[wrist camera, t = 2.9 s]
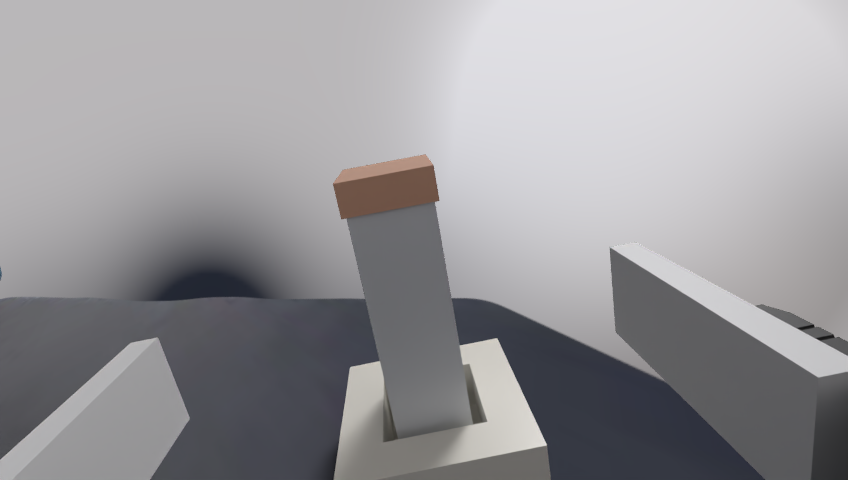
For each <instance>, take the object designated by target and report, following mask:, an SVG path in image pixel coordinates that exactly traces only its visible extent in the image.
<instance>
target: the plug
mask: <svg viewBox="0 0 848 480" xmlns="http://www.w3.org/2000/svg"><path fill="white" fill-rule="evenodd" d="M333 186H334V190H335V194H336V198H337V203H338V207H339V211H340V215H341V219H346V218H347V222H348V227H349V231H350V235H351V240H352V244H353V248H354V252H355V256H356V261H357V265H358V269H359V274H360V278H361V282H362V286H363V291H364V295H365V299H366V304H367V308H368V312H369V317H370V321H371V325H372V329H373V334H374V338H375V342H376V346H377V351H378V355H379V359H380V364H381V368H382V372H383V376H384V381H385V385H386V389H387V393H388V398H389V402H390V406H391V411H392V415H393V419H394V423H395V428H396V432H397V436H398V439H403V438H408V437H413V436H418V435H423V434H428V433H433V432H438V431H443V430H448V429H453V428H458V427H463V426H468V425H473V421H472V415H471V409H470V404H469V398H468V392H467V386H466V380H465V375H464V369H463V363H462V357H461V351H460V346H459V340H458V334H457V328H456V322H455V317H454V311H453V305H452V299H451V294H450V288H449V282H448V276H447V271H446V264H445V259H444V253H443V248H442V241H441V235H440V229H439V224H438V218H437V212H436V206H435V202H436V201H439V196H438V189H437V184H436V178H435V172H434V166H433V164H432V163H431V161H430V160H429V159H428V157H427V156H426V155H420V156H415V157H410V158H404V159H399V160H393V161H388V162H383V163H377V164H372V165H366V166H362V167H356V168H351V169H345V170H343V171H342V172H341V173H340V175H339V176H338V178H337V179H336V180H335V182H334V183H333Z"/></svg>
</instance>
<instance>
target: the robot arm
mask: <svg viewBox="0 0 848 480" xmlns="http://www.w3.org/2000/svg"><path fill="white" fill-rule="evenodd" d="M610 258H611V272H612V286H613V301H614V315H615V327H616V333H617V334H618V335H619V336H620V337H621V338H622V339H623V340H624V341H625V342H626V343H628V344H629V346H630V347H632V348H633V349H634V350H635V351H636V352H637V353H638V354H639V355H640V356H641V357H642V358H643V359H644V360H645V361H646V362H647V363H648V364H649V365H650V366H651V367H652V368H653V369H654V370H655V371H656V372H657V373H658V374H659V375H660V376H661V377H662V378H663V379H664V380H665V381H666V382H667V383H668V384H669V385H670V386H671V387H672V388H673V389H674V390H675V391H676V392H677V393H678V394H679V395H680V396H681V397H682V398H683V399H684V400H685V401H686V402H687V403H688V404H689V405H690V406H691V407H692V408H693V409H694V410H695V411H696V412H697V413H699V414H700V415H701V416H702V417H703V418H704V419H705V420H706V421H707V422H708V423H709V424H710V425H711V426H712V427H713V428H714V429H715V430H716V431H717V432H718V433H719V434H720V435H721V436H722V437H723V438H724V439H725V440H726V441H727V442H728V443H729V444H730V445H731V446H732V447H733V448H734V449H735V450H736V451H737V452H738V453H739V454H740V455H741V456H742V457H743V458H744V459H745V460H746V461H747V462H748V463H749V464H750V465H751V466H752V467H753V468H754V469H755V470H756V471H757V472H758V473H759V474H760V475H761V476H762V477H763V478H765V479H766V480H848V342H847V341H845V340H843V339H841V338H839V337H837V338H835V337H834V335H833V334H831V333H830V332H828V331H826V330H824V329H821V328H819V327H814V324H812V323H810V322H808V321H806V320H804V319H802V318H800V317H798V316H796V315H794V314H792V313H790V312H786V311H783V310H779V309H775V308H772V307H769V306H765V305H757V306H754V305H752V304H750V303H748V302H746V301H745V300H743V299H741V298H739V297H737V296H735V295H733V294H731V293H729V292H728V291H726V290H724V289H722V288H720V287H718V286H717V285H715V284H713V283H711V282H709V281H707V280H705V279H703V278H702V277H700V276H698V275H696V274H694V273H692V272H691V271H689V270H687V269H685V268H683V267H681V266H679V265H678V264H676V263H674V262H672V261H670V260H668V259H666V258H664V257H663V256H661V255H659V254H657V253H655V252H653V251H651V250H650V249H648V248H646V247H644V246H642V245H640V244H638V243H637V242H633V243H628V244H623V245H618V246H613V247H610ZM1 276H2V272H1V268H0V280H1ZM189 419H190V418H189V415H188V413H187V410H186V408H185V405H184V403H183V400H182V398H181V395H180V393H179V390H178V387H177V385H176V382H175V380H174V377H173V375H172V372H171V370H170V367H169V365H168V362H167V360H166V357H165V355H164V352H163V350H162V347H161V344H160V342H159V339H158V338H153V339H148V340H143V341H138V342H133V343H130V344H129V345H128V346H127V347H126V348H125V349H124V350H122V351H121V352H120V353H119V354H118V355H117V356H116V357H115V358H114V359H112V360H111V361H110V362H109V363H108V364H107V365H106V366H105V367H103V368H102V369H101V370H100V371H99V372H98V373H97V374H96V375H94V376H93V377H92V378H91V379H90V380H89V381H88V382H87V383H86V384H84V385H83V386H82V387H81V388H80V389H79V390H78V391H77V392H75V393H74V394H73V395H72V396H71V397H70V398H69V399H68V400H67V401H65V402H64V403H63V404H62V405H61V406H60V407H59V408H58V409H56V410H55V411H54V412H53V413H52V414H51V415H50V416H49V417H48V418H46V419H45V420H44V421H43V422H42V423H41V424H40V425H39V426H37V427H36V428H35V429H34V430H33V431H32V432H31V433H30V434H29V435H27V436H26V437H25V438H24V439H23V440H22V441H21V442H20V443H18V444H17V445H16V446H15V447H14V448H13V449H12V450H11V451H10V452H8V453H7V454H6V455H5V456H4V457H3V458H2V459H1V460H0V480H150V479H151V477H152V476H153V474H154V472H155V471H156V469H157V468H158V466H159V465H160V463H161V462H162V460H163V459H164V457H165V456H166V454H167V453H168V451H169V449H170V448H171V446H172V445H173V443H174V442H175V440H176V439H177V437H178V436H179V434H180V433H181V431H182V430H183V428H184V427H185V425H186V423H187V422H188V420H189Z"/></svg>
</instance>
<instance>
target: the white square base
mask: <svg viewBox="0 0 848 480" xmlns="http://www.w3.org/2000/svg"><path fill="white" fill-rule="evenodd" d="M460 351H461V357H462V363H463V369H464V375H465V380H466V386H467V392H468V398H469V404H470V409H471V415H472V421H473V425H468V426H463V427H458V428H453V429H448V430H443V431H438V432H433V433H428V434H423V435H418V436H413V437H408V438H403V439H398V436H397V432H396V428H395V423H394V419H393V415H392V411H391V406H390V402H389V398H388V393H387V389H386V385H385V381H384V376H383V372H382V368H381V364H380V361H379V362H374V363H369V364H364V365H359V366H354V367H350V372H349V379H348V386H347V393H346V399H345V406H344V413H343V420H342V426H341V433H340V440H339V447H338V454H337V460H336V467H335V474H334V480H551V477H550V468H549V460H548V451H547V445H546V442H545V440H544V438H543V436H542V434H541V432H540V430H539V427H538V425H537V423H536V421H535V419H534V417H533V414H532V412H531V410H530V408H529V406H528V404H527V402H526V399H525V397H524V395H523V393H522V391H521V389H520V386H519V384H518V382H517V380H516V378H515V376H514V374H513V371H512V369H511V367H510V365H509V363H508V361H507V358H506V356H505V354H504V352H503V350H502V348H501V346H500V343H499V341H498V339H491V340H486V341H481V342H476V343H471V344H466V345H461V346H460Z"/></svg>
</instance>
